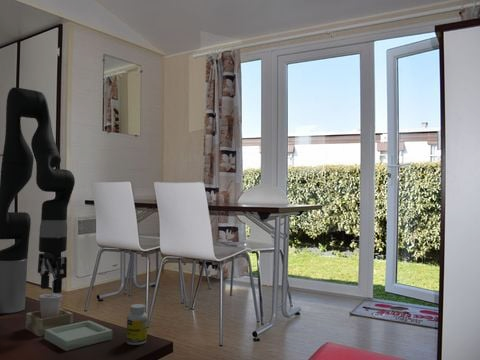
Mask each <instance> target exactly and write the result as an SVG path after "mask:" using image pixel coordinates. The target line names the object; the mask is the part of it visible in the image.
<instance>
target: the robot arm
mask: <svg viewBox="0 0 480 360" xmlns="http://www.w3.org/2000/svg"><path fill="white" fill-rule="evenodd" d="M5 111H6V112H5V133H4V134H5V135H4V145H3V152H2V159H1V160H2V161H1V168H0V240H16V242H15V243H14V244H12V245H10V246H9V247H6V248H3V249H0V314H12V313H13V314H14V313H17V312H21V311H23V310H25V308H26V294H27V293H26V291H27V272H28V258H29V257H28V254H29V244H30V243H29V242H30V236H31V235H30V234H31V226H32V225H31V224H32V223H31V221H32V220H31V219H32V218H31V215H30V213H29V212H25V211H24V212H23V211H20V212H19V211H18V212H17V211H13V212H12V211H11V212H10V211H9V210H10V207H11V204H12V203H13V201H14V200H15V198H16V196H17V195H18V194H19V193H20V192H21V191H22V190H23V189H24V187H25V186H26V185H27V184H28V183H29V181H30V180H31V178H32V177H33V176H32V175H33V169H34V161H35V165H36V172H35V173H36V174H35V175H36V176H35V181H36V182H35V183H36V185H37V188H39V189H40V191H42V192H46V193H56V195H55V197H54V198H53V199H52V198H51V199H48V200H44V201H43V202H42V204H41V215H40V216H41V218H40V225H39V233H38V234H39V238H38V240H39V241H38V252H40V253H39V254H38V260H37V263H38V264H37V274H39V275H40V289H42V290H45V289H49V288H50V276H51V275H50V274H52V279H53V280H52V281H53V293H57V294H61V293H62V292H63V291H62V289H63V288H62V287H63V280H64V279H66V278H67V275H68V274H67V273H68V272H67V268H68V267H67V266H68V264H67V263H68V258H67V256H62V253H63V252H66V251H67V246H68V245H67V244H68V243H67V242H68V206H69V203H70V200H71V198H72V197H71V196H72V193H73V191H74V188H75V185H76V184H75V183H76V178H75V175H74V173H73V172H72V171H71V170H68V169H61V168H56V167H58V166H59V165H60V164H61V162H62V159H61V154H60V151H59V149H58V147H57V144H56V141H55V137H54V134H53V128H52V121H51V116H50V109H49V105H48V100H47V98H46V96H45V94H44V93H43V92H41V91H37V90H33V89H28V88H21V87H16V86H15V87H11V88H10V89H9V91H8V93H7V97H6V107H5ZM21 118H28V119H29V118H30V119H35V121H36V122H37V128H36V129H35V131H34V133H33V135H32V137H31V143H30V146H31V148H30V146H29V145H28V143H27V141H26V139H25V137H24V135H23V131H22V127H21V126H22V125H21V120H22V119H21Z"/></svg>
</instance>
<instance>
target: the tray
mask: <svg viewBox="0 0 480 360" xmlns="http://www.w3.org/2000/svg"><path fill="white" fill-rule="evenodd" d="M113 330H114V329H110V328H108V327H105V326H104V325H101V324H99V323H97V322H94V321H92V320H85V321H80V322H76V323H74V322H73V324H69V325H65V326H60V327H55V328H50V329H45V335H43V336H44V340H46V341H48V342H49V343H51V344H53V345H55V346H56V347H59V348H60V349H62V350H64V351H66V352H68V351H70V350H75V349H79V348H83V347H87V346H91V345H94V344H98V343H103V342H106V341H110V340H113Z"/></svg>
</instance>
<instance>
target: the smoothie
mask: <svg viewBox="0 0 480 360" xmlns="http://www.w3.org/2000/svg"><path fill="white" fill-rule="evenodd" d="M62 299H63V294H62V293H53V280H52V281H51V293H44V294H40V295H39V296H38V301H39V304H40V306H39V307H40V308H39V309H40V311H41V319H44V318H49V317H54V316H58V314H59V309H60V308H61V304H62V303H61V302H62Z"/></svg>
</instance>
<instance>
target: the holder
mask: <svg viewBox="0 0 480 360" xmlns="http://www.w3.org/2000/svg"><path fill="white" fill-rule="evenodd" d="M69 324H74V313H73V312H71V311H68V310H65V309H63V308H61V307H60V309H59V314H58V316H54V317H49V318H44V319H41V310H36V311H31V312H30V311H29V312H26V315H25V330H27V331H29V332H31V333H32V334H34V335H35V336H37V337H43V336H44V335H45V329H50V328H55V327H60V326H65V325H69Z"/></svg>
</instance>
